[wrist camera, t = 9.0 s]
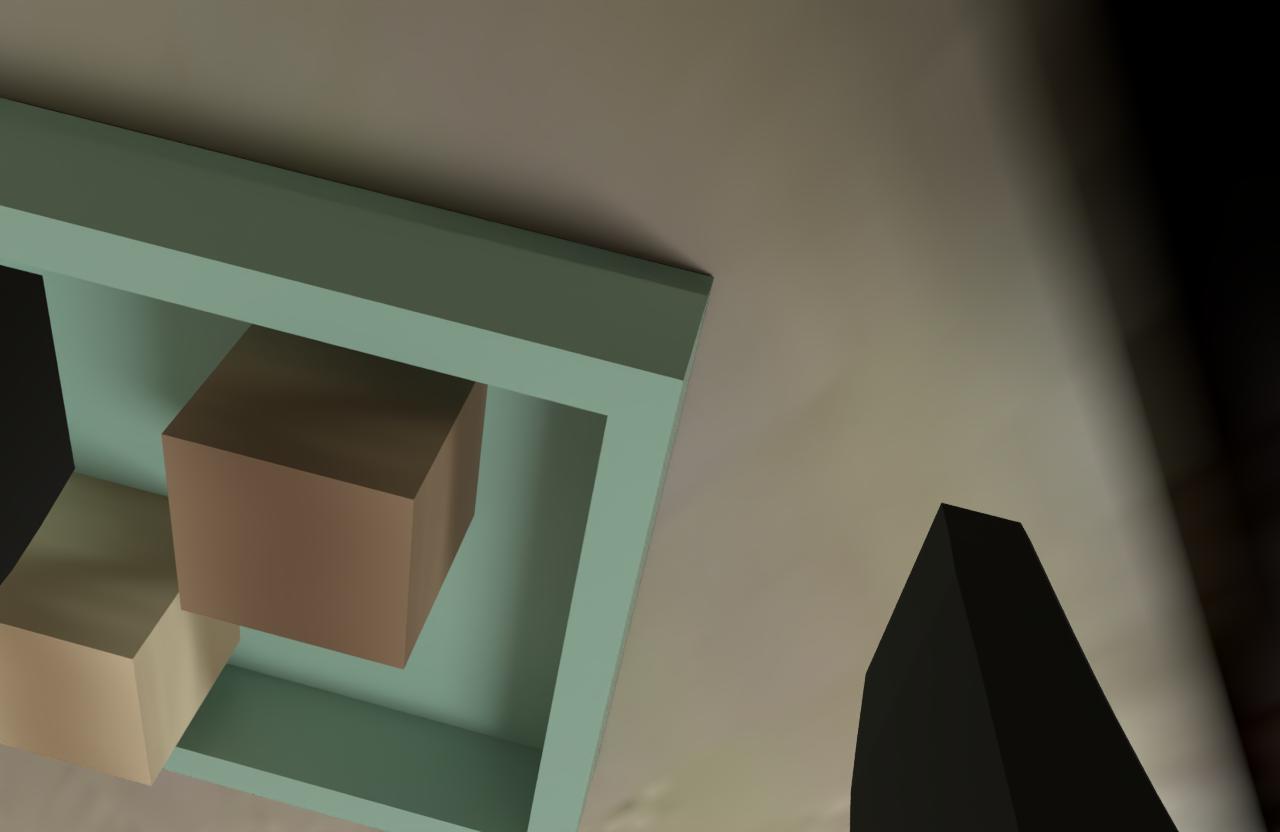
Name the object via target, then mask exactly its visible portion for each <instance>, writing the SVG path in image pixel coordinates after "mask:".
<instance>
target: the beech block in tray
mask: <svg viewBox="0 0 1280 832" xmlns="http://www.w3.org/2000/svg"><path fill="white" fill-rule="evenodd" d="M239 642H240V626H239V625H236V624H232V623H228V622H225V621H221V620H217V619H213V618H210V617H206V616H202V615H199V614H195V613H191V612H187V611H184V610H181V605H180V596H179V587H178V578H177V569H176V561H175V552H174V543H173V534H172V525H171V516H170V507H169V499H168V497H166V496H163V495H159V494H155V493H151V492H148V491H144V490H140V489H136V488H133V487H129V486H125V485H122V484H118V483H114V482H110V481H107V480H103V479H99V478H95V477H92V476H88V475H84V474H80V473H77V472H73V473H72V475H71V476H70V478H69V480H68V481H67V483H66V485H65V486H64V488H63V490H62V492H61V493H60V495H59V497H58V498H57V500H56V502H55V503H54V505H53V507H52V508H51V510H50V512H49V513H48V515H47V517H46V518H45V520H44V522H43V524H42V525H41V527H40V528H39V530H38V531H37V533H36V534H35V536H34V538H33V539H32V541H31V542H30V544H29V545H28V547H27V548H26V550H25V551H24V553H23V555H22V556H21V558H20V559H19V561H18V562H17V564H16V565H15V567H14V568H13V570H12V571H11V573H10V574H9V575H8V576H7V578H6V579H5V580H4V581H3V583H2V584H1V585H0V744H3V745H7V746H10V747H14V748H18V749H21V750H25V751H28V752H32V753H35V754H39V755H42V756H46V757H50V758H53V759H57V760H60V761H64V762H67V763H71V764H75V765H78V766H82V767H85V768H89V769H92V770H96V771H99V772H103V773H107V774H110V775H114V776H117V777H121V778H124V779H128V780H131V781H135V782H139V783H142V784H146V785H149V786H152V784H153V783H154V781H155V779H156V778H157V776H158V774H159V773H160V771H161V769H162V768H163V766H164V764H165V763H166V761H167V760H168V758H169V756H170V755H171V753H172V751H173V750H174V748H175V746H176V745H177V743H178V742H179V740H180V738H181V737H182V735H183V733H184V732H185V730H186V728H187V727H188V725H189V723H190V722H191V720H192V719H193V717H194V715H195V714H196V712H197V710H198V709H199V707H200V705H201V704H202V702H203V701H204V699H205V697H206V696H207V694H208V692H209V691H210V689H211V687H212V686H213V684H214V683H215V681H216V679H217V678H218V676H219V674H220V673H221V671H222V669H223V668H224V666H225V664H226V663H227V661H228V660H229V658H230V656H231V655H232V653H233V651H234V650H235V648H236V646H237V645H238V643H239Z"/></svg>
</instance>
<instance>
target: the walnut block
mask: <svg viewBox="0 0 1280 832" xmlns="http://www.w3.org/2000/svg"><path fill="white" fill-rule="evenodd" d="M487 389H488V384H484V383H480V382H476V381H472V380H468V379H464V378H461V377H457V376H453V375H449V374H445V373H441V372H437V371H434V370H430V369H426V368H422V367H418V366H414V365H410V364H407V363H403V362H399V361H395V360H391V359H387V358H383V357H380V356H376V355H372V354H368V353H364V352H360V351H356V350H353V349H349V348H345V347H341V346H337V345H333V344H329V343H326V342H322V341H318V340H314V339H310V338H306V337H302V336H298V335H295V334H291V333H287V332H283V331H279V330H275V329H271V328H268V327H264V326H260V325H256V324H252V325H251V326H250V327H249V328H248V329H247V331H246V332H245V333H244V334H243V335H242V337H241V338H240V339H239V340H238V342H237V343H236V344H235V345H234V346H233V348H232V349H231V350H230V351H229V352H228V354H227V355H226V356H225V357H224V359H223V360H222V361H221V362H220V363H219V365H218V366H217V367H216V368H215V369H214V371H213V372H212V373H211V374H210V375H209V377H208V378H207V379H206V380H205V382H204V383H203V384H202V385H201V386H200V388H199V389H198V390H197V391H196V392H195V394H194V395H193V396H192V397H191V399H190V400H189V401H188V402H187V403H186V405H185V406H184V407H183V408H182V409H181V411H180V412H179V413H178V414H177V416H176V417H175V418H174V419H173V420H172V422H171V423H170V424H169V425H168V426H167V428H166V429H165V430H164V431H163V432H162V434H161V437H162V445H163V454H164V463H165V472H166V481H167V490H168V499H169V507H170V516H171V525H172V534H173V543H174V552H175V561H176V569H177V578H178V587H179V596H180V605H181V610H184V611H187V612H191V613H195V614H199V615H202V616H206V617H210V618H213V619H217V620H221V621H225V622H228V623H232V624H236V625H239V626H243V627H247V628H251V629H254V630H258V631H262V632H265V633H269V634H273V635H277V636H280V637H284V638H288V639H291V640H295V641H299V642H303V643H306V644H310V645H314V646H318V647H321V648H325V649H329V650H332V651H336V652H340V653H344V654H347V655H351V656H355V657H358V658H362V659H366V660H370V661H373V662H377V663H381V664H384V665H388V666H392V667H396V668H399V669H403V670H404V668H405V666H406V663H407V661H408V659H409V657H410V655H411V653H412V650H413V648H414V646H415V644H416V642H417V639H418V637H419V635H420V633H421V631H422V628H423V626H424V624H425V622H426V620H427V618H428V615H429V613H430V611H431V609H432V607H433V604H434V602H435V600H436V598H437V596H438V594H439V591H440V589H441V587H442V585H443V583H444V580H445V578H446V576H447V574H448V572H449V569H450V567H451V565H452V563H453V561H454V559H455V556H456V554H457V552H458V550H459V548H460V545H461V543H462V541H463V539H464V537H465V534H466V532H467V530H468V528H469V526H470V524H471V521H472V519H473V517H474V514H475V505H476V495H477V485H478V476H479V466H480V457H481V447H482V437H483V428H484V418H485V409H486V399H487Z"/></svg>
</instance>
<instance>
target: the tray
mask: <svg viewBox="0 0 1280 832" xmlns="http://www.w3.org/2000/svg"><path fill="white" fill-rule="evenodd" d="M0 265H3V266H7V267H11V268H15V269H19V270H23V271H27V272H31V273H35V274H39V275H43V281H44V287H45V293H46V299H47V304H48V310H49V316H50V322H51V328H52V334H53V340H54V346H55V352H56V358H57V364H58V370H59V376H60V382H61V388H62V394H63V400H64V405H65V411H66V417H67V423H68V429H69V435H70V441H71V447H72V453H73V459H74V465H75V470H74V471H73V472H77V473H80V474H84V475H88V476H92V477H95V478H99V479H103V480H107V481H110V482H114V483H118V484H122V485H125V486H129V487H133V488H136V489H140V490H144V491H148V492H151V493H155V494H159V495H163V496H166V497H168V490H167V481H166V472H165V463H164V454H163V445H162V437H161V434H162V432H163V431H164V430H165V429H166V428H167V426H168V425H169V424H170V423H171V422H172V420H173V419H174V418H175V417H176V416H177V414H178V413H179V412H180V411H181V409H182V408H183V407H184V406H185V405H186V403H187V402H188V401H189V400H190V399H191V397H192V396H193V395H194V394H195V392H196V391H197V390H198V389H199V388H200V386H201V385H202V384H203V383H204V382H205V380H206V379H207V378H208V377H209V375H210V374H211V373H212V372H213V371H214V369H215V368H216V367H217V366H218V365H219V363H220V362H221V361H222V360H223V359H224V357H225V356H226V355H227V354H228V352H229V351H230V350H231V349H232V348H233V346H234V345H235V344H236V343H237V342H238V340H239V339H240V338H241V337H242V335H243V334H244V333H245V332H246V331H247V329H248V328H249V327H250V326H251V325H252V324H256V325H260V326H264V327H268V328H271V329H275V330H279V331H283V332H287V333H291V334H295V335H298V336H302V337H306V338H310V339H314V340H318V341H322V342H326V343H329V344H333V345H337V346H341V347H345V348H349V349H353V350H356V351H360V352H364V353H368V354H372V355H376V356H380V357H383V358H387V359H391V360H395V361H399V362H403V363H407V364H410V365H414V366H418V367H422V368H426V369H430V370H434V371H437V372H441V373H445V374H449V375H453V376H457V377H461V378H464V379H468V380H472V381H476V382H480V383H484V384H488V389H487V399H486V409H485V418H484V428H483V437H482V447H481V457H480V466H479V476H478V485H477V495H476V505H475V514H474V517H473V519H472V521H471V524H470V526H469V528H468V530H467V532H466V534H465V537H464V539H463V541H462V543H461V545H460V548H459V550H458V552H457V554H456V556H455V559H454V561H453V563H452V565H451V567H450V569H449V572H448V574H447V576H446V578H445V580H444V583H443V585H442V587H441V589H440V591H439V594H438V596H437V598H436V600H435V602H434V604H433V607H432V609H431V611H430V613H429V615H428V618H427V620H426V622H425V624H424V626H423V628H422V631H421V633H420V635H419V637H418V639H417V642H416V644H415V646H414V648H413V650H412V653H411V655H410V657H409V659H408V661H407V663H406V666H405V668H404V670H403V669H399V668H396V667H392V666H388V665H384V664H381V663H377V662H373V661H370V660H366V659H362V658H358V657H355V656H351V655H347V654H344V653H340V652H336V651H332V650H329V649H325V648H321V647H318V646H314V645H310V644H306V643H303V642H299V641H295V640H291V639H288V638H284V637H280V636H277V635H273V634H269V633H265V632H262V631H258V630H254V629H251V628H247V627H243V626H240V642H239V643H238V645H237V646H236V648H235V650H234V651H233V653H232V655H231V656H230V658H229V660H228V661H227V663H226V664H225V666H224V668H223V669H222V671H221V673H220V674H219V676H218V678H217V679H216V681H215V683H214V684H213V686H212V687H211V689H210V691H209V692H208V694H207V696H206V697H205V699H204V701H203V702H202V704H201V705H200V707H199V709H198V710H197V712H196V714H195V715H194V717H193V719H192V720H191V722H190V723H189V725H188V727H187V728H186V730H185V732H184V733H183V735H182V737H181V738H180V740H179V742H178V743H177V745H176V746H175V748H174V750H173V751H172V753H171V755H170V756H169V758H168V760H167V761H166V763H165V764H164V766H163V768H162V769H165V770H169V771H172V772H176V773H179V774H183V775H187V776H190V777H194V778H197V779H201V780H204V781H208V782H212V783H215V784H219V785H222V786H226V787H229V788H233V789H237V790H240V791H244V792H247V793H251V794H254V795H258V796H262V797H265V798H269V799H272V800H276V801H279V802H283V803H287V804H290V805H294V806H297V807H301V808H304V809H308V810H312V811H315V812H319V813H322V814H326V815H329V816H333V817H337V818H340V819H344V820H347V821H351V822H354V823H358V824H362V825H365V826H369V827H372V828H376V829H379V830H383V831H387V832H578V828H579V825H580V821H581V817H582V814H583V810H584V806H585V803H586V799H587V795H588V792H589V788H590V785H591V781H592V777H593V774H594V770H595V766H596V762H597V758H598V754H599V749H600V745H601V741H602V737H603V733H604V729H605V725H606V720H607V716H608V712H609V708H610V704H611V700H612V696H613V692H614V687H615V683H616V679H617V675H618V671H619V667H620V663H621V658H622V654H623V650H624V646H625V642H626V638H627V634H628V630H629V625H630V621H631V617H632V613H633V609H634V605H635V601H636V596H637V592H638V588H639V584H640V580H641V576H642V572H643V568H644V563H645V559H646V555H647V551H648V547H649V543H650V539H651V534H652V530H653V526H654V522H655V518H656V514H657V510H658V506H659V501H660V497H661V493H662V489H663V485H664V481H665V477H666V472H667V468H668V464H669V460H670V456H671V452H672V448H673V444H674V439H675V435H676V431H677V427H678V423H679V419H680V415H681V410H682V406H683V402H684V398H685V394H686V390H687V386H688V382H689V377H690V373H691V369H692V365H693V361H694V357H695V353H696V348H697V344H698V340H699V336H700V332H701V328H702V324H703V320H704V315H705V311H706V307H707V303H708V299H709V295H710V291H711V286H712V282H713V278H714V277H710V276H706V275H702V274H698V273H694V272H690V271H686V270H682V269H678V268H674V267H670V266H666V265H662V264H658V263H654V262H651V261H647V260H643V259H639V258H635V257H631V256H627V255H623V254H619V253H615V252H611V251H607V250H603V249H599V248H595V247H591V246H587V245H583V244H579V243H575V242H571V241H567V240H563V239H559V238H555V237H551V236H547V235H543V234H539V233H535V232H531V231H527V230H523V229H520V228H516V227H512V226H508V225H504V224H500V223H496V222H492V221H488V220H484V219H480V218H476V217H472V216H468V215H464V214H460V213H456V212H452V211H448V210H444V209H440V208H436V207H432V206H428V205H424V204H420V203H416V202H412V201H408V200H404V199H400V198H396V197H392V196H389V195H385V194H381V193H377V192H373V191H369V190H365V189H361V188H357V187H353V186H349V185H345V184H341V183H337V182H333V181H329V180H325V179H321V178H317V177H313V176H309V175H305V174H301V173H297V172H293V171H289V170H285V169H281V168H277V167H273V166H269V165H265V164H261V163H258V162H254V161H250V160H246V159H242V158H238V157H234V156H230V155H226V154H222V153H218V152H214V151H210V150H206V149H202V148H198V147H194V146H190V145H186V144H182V143H178V142H174V141H170V140H166V139H162V138H158V137H154V136H150V135H146V134H142V133H138V132H134V131H130V130H127V129H123V128H119V127H115V126H111V125H107V124H103V123H99V122H95V121H91V120H87V119H83V118H79V117H75V116H71V115H67V114H63V113H59V112H55V111H51V110H47V109H43V108H39V107H35V106H31V105H27V104H23V103H19V102H15V101H11V100H7V99H3V98H0Z"/></svg>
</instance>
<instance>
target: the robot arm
mask: <svg viewBox="0 0 1280 832" xmlns="http://www.w3.org/2000/svg"><path fill="white" fill-rule="evenodd" d="M74 470H75V465H74V459H73V453H72V447H71V441H70V435H69V429H68V423H67V417H66V411H65V405H64V400H63V394H62V388H61V382H60V376H59V370H58V364H57V358H56V352H55V346H54V340H53V334H52V328H51V322H50V316H49V310H48V304H47V299H46V293H45V287H44V281H43V275H39V274H35V273H31V272H27V271H23V270H19V269H15V268H11V267H7V266H3V265H0V585H1V584H2V583H3V581H4V580H5V579H6V578H7V576H8V575H9V574H10V573H11V571H12V570H13V568H14V567H15V565H16V564H17V562H18V561H19V559H20V558H21V556H22V555H23V553H24V551H25V550H26V548H27V547H28V545H29V544H30V542H31V541H32V539H33V538H34V536H35V534H36V533H37V531H38V530H39V528H40V527H41V525H42V524H43V522H44V520H45V518H46V517H47V515H48V513H49V512H50V510H51V508H52V507H53V505H54V503H55V502H56V500H57V498H58V497H59V495H60V493H61V492H62V490H63V488H64V486H65V485H66V483H67V481H68V480H69V478H70V476H71V475H72V473H73V471H74ZM850 832H1179V831H1178V830H1177V828H1176V826H1175V824H1174V823H1173V821H1172V819H1171V817H1170V816H1169V814H1168V812H1167V810H1166V809H1165V807H1164V805H1163V803H1162V801H1161V800H1160V798H1159V796H1158V794H1157V793H1156V791H1155V789H1154V787H1153V785H1152V783H1151V781H1150V780H1149V778H1148V776H1147V774H1146V772H1145V770H1144V768H1143V767H1142V765H1141V763H1140V761H1139V759H1138V757H1137V755H1136V753H1135V752H1134V750H1133V748H1132V746H1131V744H1130V742H1129V740H1128V739H1127V737H1126V735H1125V733H1124V731H1123V729H1122V727H1121V725H1120V724H1119V722H1118V720H1117V718H1116V716H1115V714H1114V712H1113V710H1112V708H1111V706H1110V705H1109V703H1108V701H1107V699H1106V697H1105V695H1104V693H1103V691H1102V689H1101V687H1100V685H1099V683H1098V681H1097V679H1096V677H1095V675H1094V673H1093V671H1092V669H1091V667H1090V665H1089V663H1088V661H1087V659H1086V657H1085V654H1084V652H1083V650H1082V648H1081V646H1080V644H1079V642H1078V640H1077V638H1076V636H1075V634H1074V632H1073V630H1072V628H1071V626H1070V624H1069V622H1068V619H1067V617H1066V615H1065V613H1064V611H1063V609H1062V607H1061V605H1060V603H1059V600H1058V598H1057V596H1056V594H1055V592H1054V590H1053V588H1052V586H1051V583H1050V581H1049V579H1048V577H1047V575H1046V573H1045V571H1044V568H1043V566H1042V564H1041V562H1040V560H1039V558H1038V556H1037V554H1036V551H1035V549H1034V547H1033V545H1032V543H1031V541H1030V539H1029V537H1028V535H1027V533H1026V531H1025V530H1024V528H1023V526H1022V524H1021V523H1019V522H1016V521H1012V520H1008V519H1004V518H1000V517H996V516H992V515H988V514H984V513H980V512H976V511H972V510H968V509H964V508H960V507H956V506H952V505H948V504H944V503H941V505H940V507H939V510H938V512H937V514H936V516H935V519H934V521H933V523H932V525H931V528H930V530H929V532H928V535H927V537H926V539H925V541H924V544H923V546H922V548H921V550H920V553H919V555H918V557H917V559H916V562H915V564H914V566H913V568H912V571H911V573H910V575H909V577H908V580H907V582H906V584H905V587H904V589H903V591H902V593H901V596H900V598H899V600H898V602H897V605H896V607H895V609H894V611H893V614H892V616H891V618H890V620H889V623H888V625H887V627H886V629H885V632H884V634H883V636H882V639H881V641H880V643H879V645H878V648H877V650H876V652H875V654H874V657H873V659H872V661H871V663H870V666H869V668H868V670H867V672H866V676H865V683H864V691H863V698H862V706H861V713H860V721H859V728H858V735H857V743H856V752H855V760H854V769H853V777H852V786H851V804H850Z"/></svg>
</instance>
